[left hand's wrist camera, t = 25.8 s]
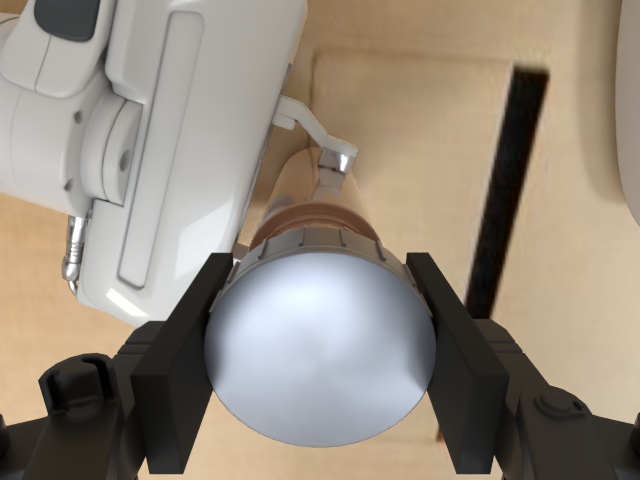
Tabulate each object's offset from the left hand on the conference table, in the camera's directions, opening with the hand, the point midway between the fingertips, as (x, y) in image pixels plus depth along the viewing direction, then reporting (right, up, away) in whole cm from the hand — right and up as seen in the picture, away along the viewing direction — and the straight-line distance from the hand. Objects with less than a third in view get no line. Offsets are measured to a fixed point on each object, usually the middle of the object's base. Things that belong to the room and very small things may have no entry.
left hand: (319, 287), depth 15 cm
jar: (0, +6, +14) cm, 15 cm away
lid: (0, -1, -4) cm, 4 cm away
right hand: (+1, +3, +8) cm, 9 cm away
